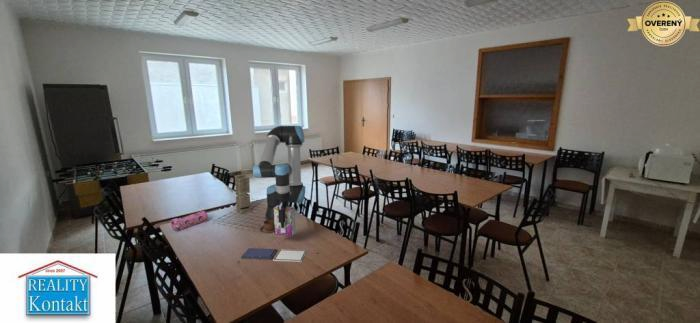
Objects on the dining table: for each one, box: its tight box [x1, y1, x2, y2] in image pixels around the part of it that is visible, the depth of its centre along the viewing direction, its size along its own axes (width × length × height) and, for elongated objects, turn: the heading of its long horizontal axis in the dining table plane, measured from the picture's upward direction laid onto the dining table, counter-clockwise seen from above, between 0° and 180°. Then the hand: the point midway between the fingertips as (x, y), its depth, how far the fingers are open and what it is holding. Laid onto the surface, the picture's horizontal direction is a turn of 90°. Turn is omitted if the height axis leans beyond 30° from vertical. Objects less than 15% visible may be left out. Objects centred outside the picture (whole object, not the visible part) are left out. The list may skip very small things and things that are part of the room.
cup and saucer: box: [259, 219, 275, 234], centre depth 187 cm, size 12×12×6 cm
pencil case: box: [170, 210, 209, 233], centre depth 194 cm, size 21×9×9 cm, turn 146°
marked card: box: [272, 248, 307, 263], centre depth 155 cm, size 12×15×1 cm
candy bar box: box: [274, 205, 296, 237], centre depth 168 cm, size 11×5×16 cm, turn 75°
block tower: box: [234, 173, 252, 215], centre depth 217 cm, size 8×8×29 cm
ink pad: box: [240, 247, 278, 260], centre depth 156 cm, size 10×16×1 cm, turn 85°
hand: (285, 230), depth 169 cm, fingers closed on candy bar box, 5 cm apart
